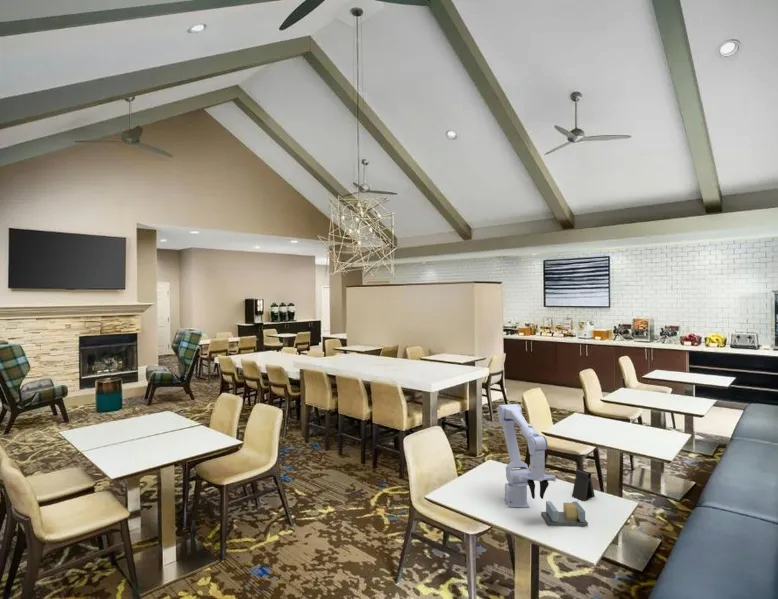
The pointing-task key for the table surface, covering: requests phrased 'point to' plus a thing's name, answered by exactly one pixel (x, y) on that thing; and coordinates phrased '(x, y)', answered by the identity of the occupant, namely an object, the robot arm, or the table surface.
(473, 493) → the table surface
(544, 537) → the table surface
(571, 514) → the brass block
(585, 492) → the phone stand
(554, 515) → the sliding jaw
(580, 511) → the vise
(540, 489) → the robot arm
